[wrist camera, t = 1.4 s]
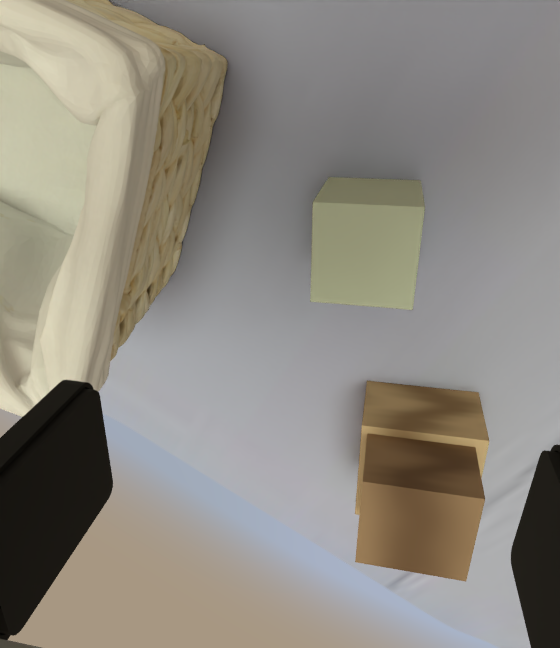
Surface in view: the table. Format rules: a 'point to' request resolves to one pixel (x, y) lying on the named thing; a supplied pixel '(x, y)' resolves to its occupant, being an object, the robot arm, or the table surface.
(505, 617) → the table surface
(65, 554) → the robot arm
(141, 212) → the storage basket
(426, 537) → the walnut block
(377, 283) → the sage block
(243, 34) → the table surface
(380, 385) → the oak block
